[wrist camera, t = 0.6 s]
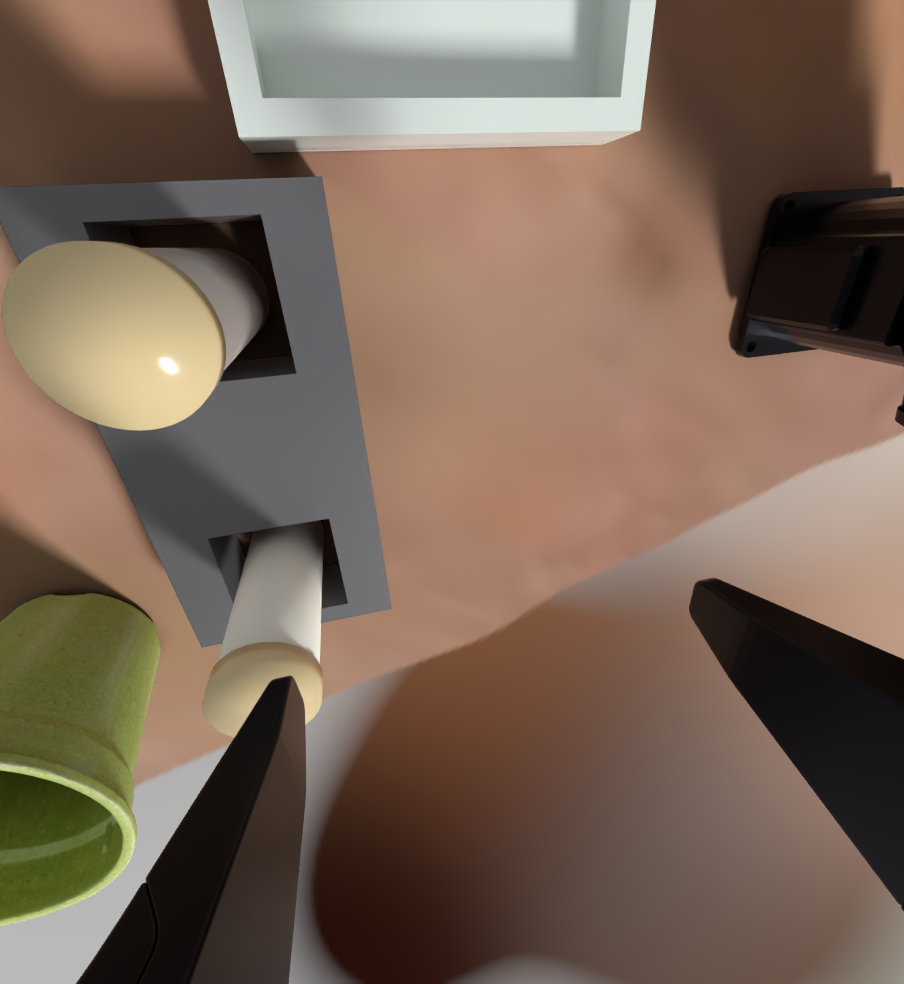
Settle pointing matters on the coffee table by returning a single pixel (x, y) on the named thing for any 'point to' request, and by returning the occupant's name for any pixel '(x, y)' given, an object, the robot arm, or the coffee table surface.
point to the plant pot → (69, 746)
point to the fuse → (271, 626)
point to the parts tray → (433, 72)
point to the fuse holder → (239, 399)
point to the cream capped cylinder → (131, 327)
